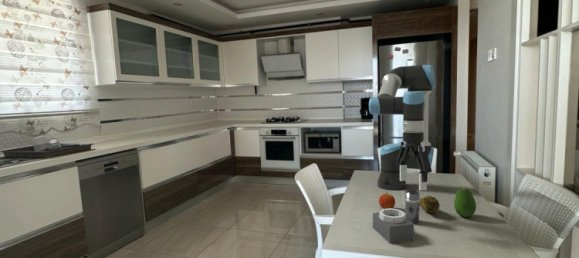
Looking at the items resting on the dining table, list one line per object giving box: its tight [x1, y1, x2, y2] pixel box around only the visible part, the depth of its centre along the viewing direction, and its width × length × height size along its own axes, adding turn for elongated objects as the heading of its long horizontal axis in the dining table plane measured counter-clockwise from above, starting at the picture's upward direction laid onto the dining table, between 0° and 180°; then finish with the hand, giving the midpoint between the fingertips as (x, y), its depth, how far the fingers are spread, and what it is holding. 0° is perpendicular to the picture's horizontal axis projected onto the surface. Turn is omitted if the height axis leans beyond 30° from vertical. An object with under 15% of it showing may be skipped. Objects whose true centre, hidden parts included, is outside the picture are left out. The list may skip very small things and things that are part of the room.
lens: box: [404, 189, 421, 225], centre depth 125 cm, size 5×5×12 cm
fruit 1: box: [378, 193, 396, 209], centre depth 140 cm, size 7×7×8 cm
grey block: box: [372, 208, 415, 244], centre depth 115 cm, size 13×9×8 cm
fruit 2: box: [453, 187, 477, 218], centre depth 128 cm, size 8×8×12 cm
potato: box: [419, 195, 441, 213], centre depth 134 cm, size 8×13×8 cm, turn 156°
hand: (412, 185), depth 124 cm, fingers open, 13 cm apart
